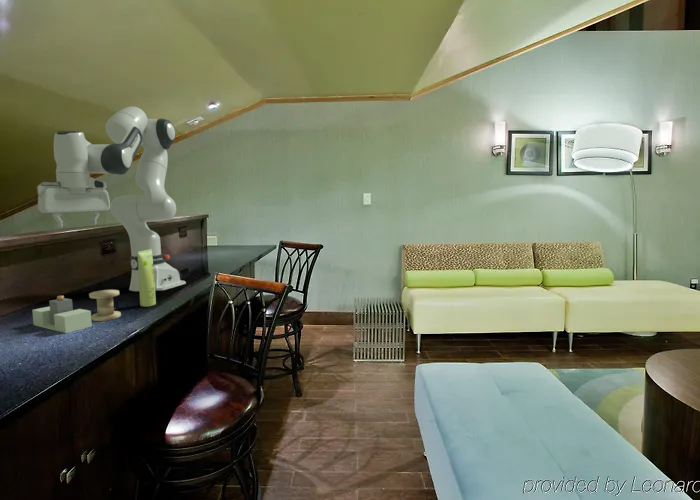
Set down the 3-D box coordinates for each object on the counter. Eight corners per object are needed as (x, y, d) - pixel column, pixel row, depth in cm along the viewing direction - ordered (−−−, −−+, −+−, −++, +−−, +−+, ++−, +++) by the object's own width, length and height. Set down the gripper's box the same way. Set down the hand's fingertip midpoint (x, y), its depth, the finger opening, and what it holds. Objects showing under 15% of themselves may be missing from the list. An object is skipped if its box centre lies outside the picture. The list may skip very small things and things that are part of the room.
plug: (73, 322, 118) (71, 295, 117) (59, 326, 114) (56, 298, 113) (66, 320, 120) (63, 294, 119) (51, 324, 116) (48, 296, 115)
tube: (157, 305, 139) (154, 250, 137) (141, 308, 137) (137, 251, 134) (154, 302, 144) (151, 248, 142) (139, 304, 141) (135, 249, 139)
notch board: (59, 319, 124) (58, 304, 123) (91, 326, 116) (90, 310, 116) (33, 325, 117) (32, 309, 117) (65, 333, 110) (64, 316, 110)
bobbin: (110, 312, 131) (109, 288, 130) (126, 315, 127) (124, 291, 126) (85, 319, 124) (83, 293, 123) (101, 322, 120) (99, 296, 119)
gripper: (42, 181, 116) (47, 229, 118) (111, 183, 134) (114, 224, 136) (30, 181, 119) (35, 228, 121) (99, 183, 137) (103, 223, 139)
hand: (78, 226), depth 129 cm, fingers open, 8 cm apart
